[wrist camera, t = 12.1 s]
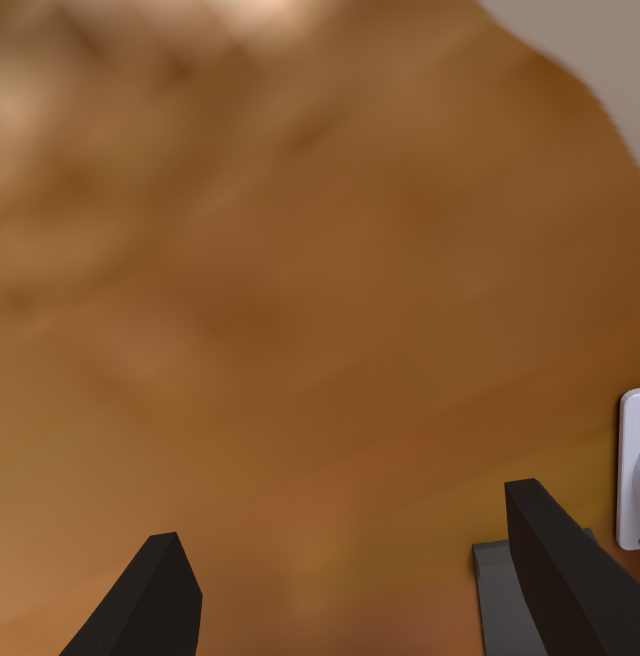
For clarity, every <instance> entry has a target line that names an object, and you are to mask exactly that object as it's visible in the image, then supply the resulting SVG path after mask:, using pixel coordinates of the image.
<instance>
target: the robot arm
mask: <svg viewBox="0 0 640 656" xmlns="http://www.w3.org/2000/svg"><path fill="white" fill-rule="evenodd" d="M504 485H505V497H506V510H507V523H508V535H509V548H510V554H511V558H512V561H513V564H514V568H515V571H516V574H517V578H518V581H519V584H520V587H521V590H522V593H523V597H524V600H525V602H526V605H527V607H528V609H529V612H530V614H531V616H532V619H533V621H534V624H535V626H536V628H537V631H538V633H539V635H540V638H541V640H542V642H543V645H544V647H545V649H546V652H547V654H548V656H640V582H639V581H638V580H637V579H635V578H634V577H633V576H632V575H631V574H630V573H628V572H627V571H626V570H625V569H624V568H623V567H622V566H621V565H620V564H618V563H617V562H616V561H615V560H614V559H613V558H612V557H611V556H610V555H609V554H608V553H607V552H606V551H605V550H604V549H602V548H601V547H600V546H599V545H598V544H597V543H596V542H595V541H594V540H593V539H592V538H591V537H590V536H589V535H588V534H587V533H586V532H585V531H584V530H583V529H582V528H581V527H580V526H579V525H578V524H577V523H576V522H575V521H574V520H573V519H572V518H571V517H570V516H569V515H568V514H567V513H566V511H565V510H564V509H563V508H562V507H561V506H560V505H559V504H558V503H557V502H556V501H555V499H554V498H553V497H552V496H551V495H550V494H549V493H548V492H547V490H546V489H545V488H544V487H543V486H542V485H541V483H540V482H539V481H537V480H536V479H534V478H531V479H525V480H518V481H511V482H505V483H504ZM616 539H617V542H618V544H619V545H620V547H621V548H622V549H625V550H637V549H640V388H639V389H633V390H630V391H628V392H627V393H625V394H624V395H623V397H622V398H621V401H620V426H619V459H618V493H617V527H616ZM202 596H203V595H202V593H201V590H200V588H199V585H198V583H197V581H196V578H195V576H194V573H193V571H192V569H191V566H190V564H189V561H188V559H187V557H186V554H185V552H184V549H183V547H182V545H181V542H180V540H179V537H178V535H177V533H176V532H172V533H165V534H158V535H152V536H150V537H149V538H148V539H147V541H146V542H145V543H144V545H143V546H142V547H141V549H140V550H139V551H138V553H137V554H136V555H135V557H134V558H133V559H132V561H131V562H130V564H129V565H128V566H127V568H126V569H125V570H124V572H123V573H122V575H121V576H120V577H119V579H118V580H117V581H116V583H115V584H114V585H113V587H112V588H111V590H110V591H109V592H108V594H107V595H106V596H105V598H104V599H103V600H102V602H101V603H100V604H99V606H98V607H97V608H96V609H95V611H94V612H93V613H92V615H91V616H90V617H89V619H88V620H87V621H86V623H85V624H84V625H83V626H82V628H81V629H80V630H79V631H78V633H77V634H76V635H75V636H74V637H73V639H72V640H71V641H70V642H69V644H68V645H67V646H66V647H65V649H64V650H63V651H62V652H61V653H60V655H59V656H195V654H196V649H197V644H198V636H199V627H200V618H201V607H202Z"/></svg>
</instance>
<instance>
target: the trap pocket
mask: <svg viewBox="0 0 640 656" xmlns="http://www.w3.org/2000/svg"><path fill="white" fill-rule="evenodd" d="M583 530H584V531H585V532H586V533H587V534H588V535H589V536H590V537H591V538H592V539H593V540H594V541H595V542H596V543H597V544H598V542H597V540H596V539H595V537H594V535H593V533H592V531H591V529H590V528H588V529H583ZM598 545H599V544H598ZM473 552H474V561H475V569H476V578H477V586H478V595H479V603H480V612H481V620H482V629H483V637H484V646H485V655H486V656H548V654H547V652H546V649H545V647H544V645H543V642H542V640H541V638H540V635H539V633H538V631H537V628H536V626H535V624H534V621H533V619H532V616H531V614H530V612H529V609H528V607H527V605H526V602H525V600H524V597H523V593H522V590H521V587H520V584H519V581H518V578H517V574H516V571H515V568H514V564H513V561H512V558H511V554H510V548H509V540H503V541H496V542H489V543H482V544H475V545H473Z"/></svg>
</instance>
